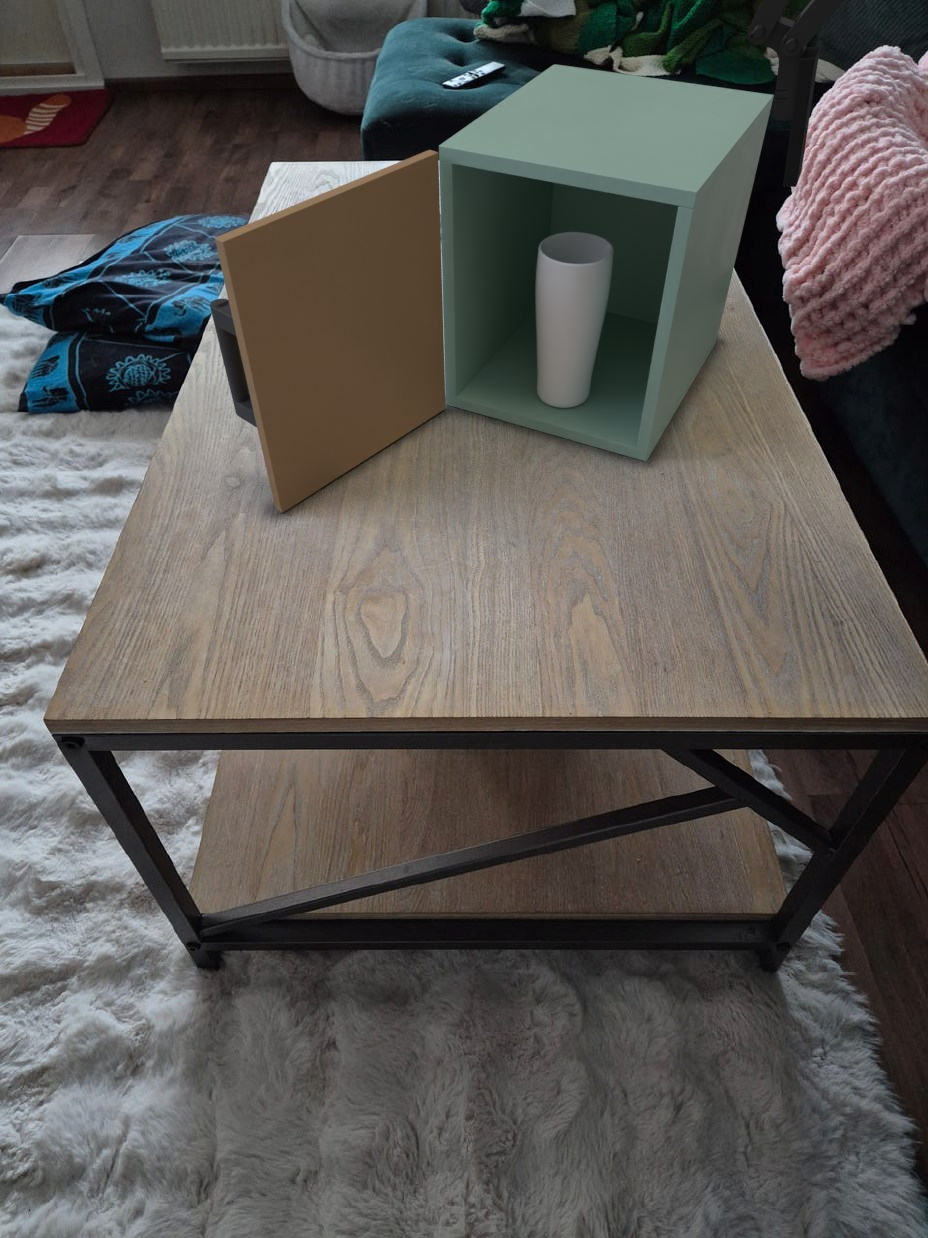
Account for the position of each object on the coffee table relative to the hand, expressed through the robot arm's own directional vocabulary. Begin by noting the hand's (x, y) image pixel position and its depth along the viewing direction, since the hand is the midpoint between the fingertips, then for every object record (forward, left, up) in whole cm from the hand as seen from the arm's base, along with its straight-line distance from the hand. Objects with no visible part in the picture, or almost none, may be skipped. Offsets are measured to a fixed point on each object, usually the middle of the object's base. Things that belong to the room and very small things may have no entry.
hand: (915, 180), depth 49 cm
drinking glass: (+23, +15, -29) cm, 40 cm away
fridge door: (+18, +37, -30) cm, 51 cm away
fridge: (+29, +12, -30) cm, 43 cm away
